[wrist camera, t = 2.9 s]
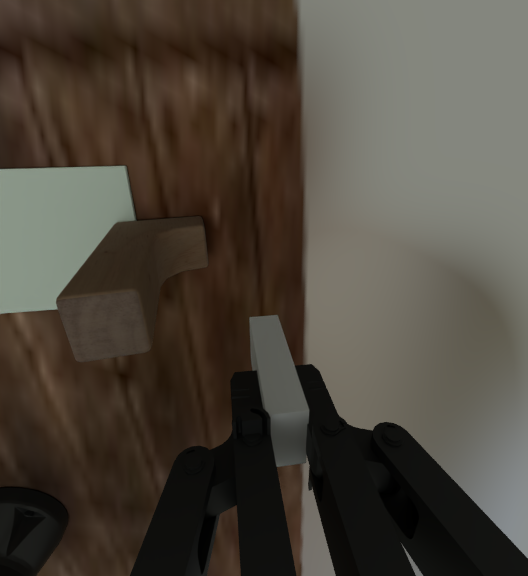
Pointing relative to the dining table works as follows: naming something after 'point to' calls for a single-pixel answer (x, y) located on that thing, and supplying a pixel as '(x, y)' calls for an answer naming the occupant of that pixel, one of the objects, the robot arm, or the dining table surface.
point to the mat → (54, 228)
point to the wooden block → (127, 285)
